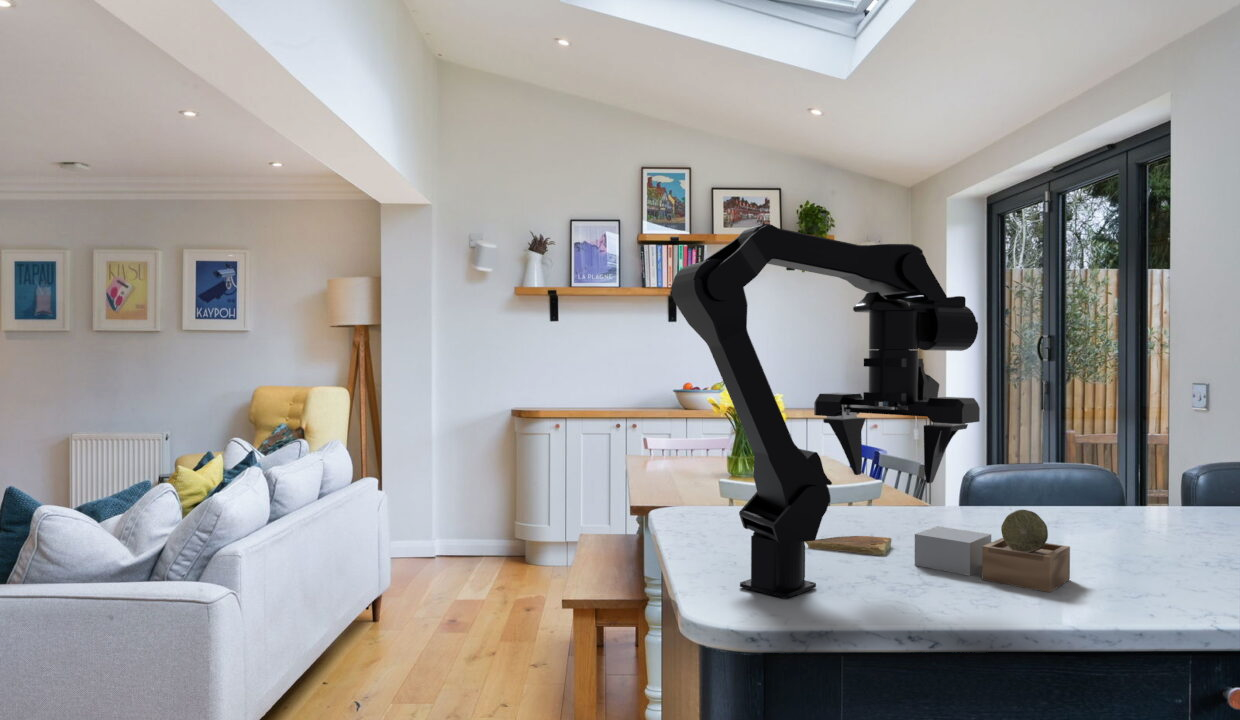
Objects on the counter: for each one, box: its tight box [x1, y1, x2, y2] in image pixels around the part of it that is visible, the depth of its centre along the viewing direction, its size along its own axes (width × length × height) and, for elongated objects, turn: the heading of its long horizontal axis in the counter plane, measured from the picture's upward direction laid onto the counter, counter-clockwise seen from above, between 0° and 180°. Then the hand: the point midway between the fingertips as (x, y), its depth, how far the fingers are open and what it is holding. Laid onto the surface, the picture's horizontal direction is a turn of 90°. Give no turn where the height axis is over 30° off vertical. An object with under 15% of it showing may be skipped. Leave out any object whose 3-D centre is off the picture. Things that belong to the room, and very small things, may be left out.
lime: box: [1000, 509, 1049, 553], centre depth 98 cm, size 4×5×5 cm
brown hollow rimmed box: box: [981, 537, 1071, 593], centre depth 98 cm, size 8×8×4 cm
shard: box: [805, 535, 892, 557], centre depth 115 cm, size 11×8×2 cm
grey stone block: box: [914, 526, 992, 576], centre depth 104 cm, size 7×7×4 cm
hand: (892, 478), depth 99 cm, fingers open, 9 cm apart
